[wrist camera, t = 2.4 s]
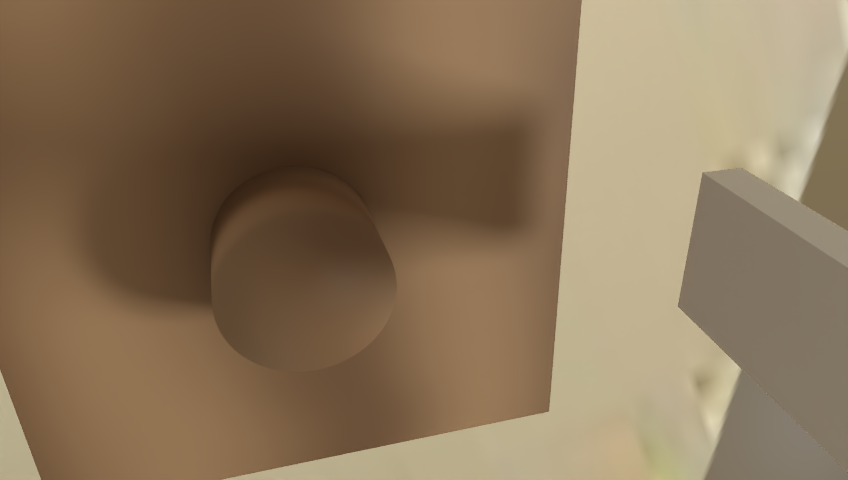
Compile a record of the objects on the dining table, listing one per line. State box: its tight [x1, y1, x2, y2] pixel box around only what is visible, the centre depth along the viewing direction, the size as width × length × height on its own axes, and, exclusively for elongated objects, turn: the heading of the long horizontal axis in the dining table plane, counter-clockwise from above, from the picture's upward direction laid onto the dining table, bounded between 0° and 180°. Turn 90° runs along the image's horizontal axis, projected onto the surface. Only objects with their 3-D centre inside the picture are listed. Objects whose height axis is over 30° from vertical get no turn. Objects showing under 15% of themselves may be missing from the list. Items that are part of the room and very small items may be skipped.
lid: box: [0, 0, 582, 480], centre depth 14 cm, size 11×11×6 cm
